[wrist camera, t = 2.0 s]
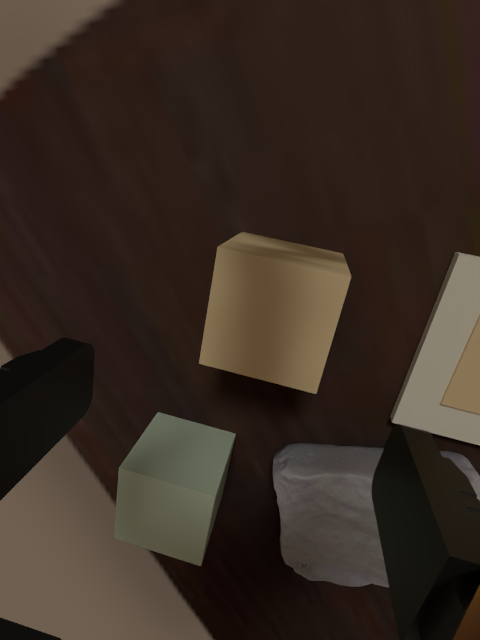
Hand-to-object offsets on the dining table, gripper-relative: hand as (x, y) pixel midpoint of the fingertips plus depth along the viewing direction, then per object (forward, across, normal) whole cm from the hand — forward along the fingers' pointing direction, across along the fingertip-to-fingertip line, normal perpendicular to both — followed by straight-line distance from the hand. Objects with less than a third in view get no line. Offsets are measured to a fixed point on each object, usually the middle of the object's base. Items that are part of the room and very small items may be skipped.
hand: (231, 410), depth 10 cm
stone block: (+13, -9, +13) cm, 20 cm away
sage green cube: (+12, +3, +13) cm, 18 cm away
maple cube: (+12, 0, 0) cm, 12 cm away
